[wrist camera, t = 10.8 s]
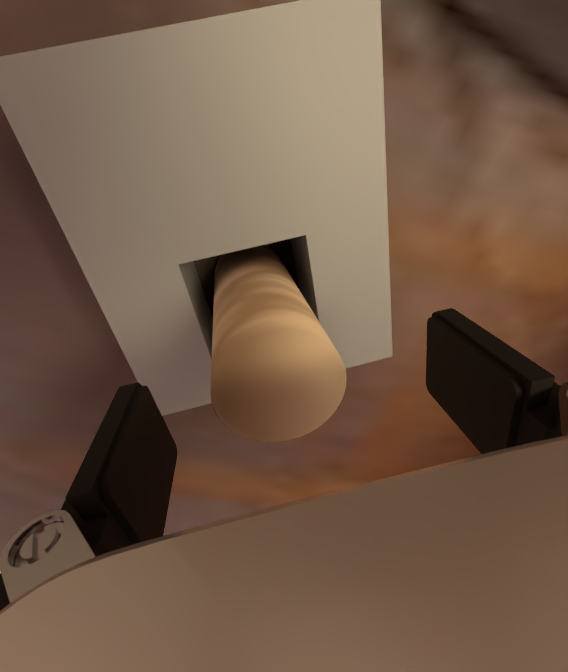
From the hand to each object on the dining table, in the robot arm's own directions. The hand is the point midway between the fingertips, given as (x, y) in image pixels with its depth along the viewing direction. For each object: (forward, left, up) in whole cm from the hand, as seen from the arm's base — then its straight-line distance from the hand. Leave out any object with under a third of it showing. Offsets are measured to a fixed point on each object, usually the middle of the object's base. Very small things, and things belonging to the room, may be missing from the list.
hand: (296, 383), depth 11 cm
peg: (+1, 0, -12) cm, 12 cm away
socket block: (+1, -3, -12) cm, 12 cm away
